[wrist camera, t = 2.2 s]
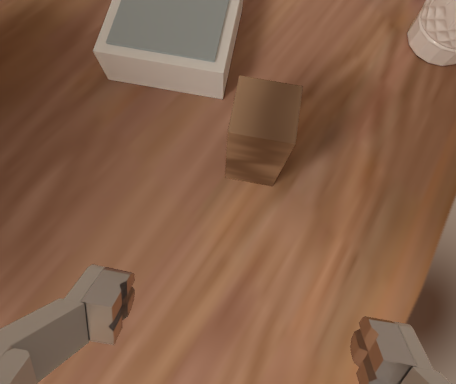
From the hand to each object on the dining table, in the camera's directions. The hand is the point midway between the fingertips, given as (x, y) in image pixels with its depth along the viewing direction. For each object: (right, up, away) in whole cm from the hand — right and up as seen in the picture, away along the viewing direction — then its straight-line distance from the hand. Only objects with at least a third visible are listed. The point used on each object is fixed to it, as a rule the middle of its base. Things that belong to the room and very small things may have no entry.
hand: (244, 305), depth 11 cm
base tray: (-6, +20, +22) cm, 30 cm away
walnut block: (+2, +7, +18) cm, 20 cm away
